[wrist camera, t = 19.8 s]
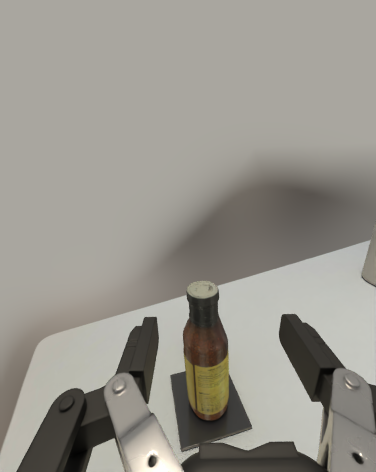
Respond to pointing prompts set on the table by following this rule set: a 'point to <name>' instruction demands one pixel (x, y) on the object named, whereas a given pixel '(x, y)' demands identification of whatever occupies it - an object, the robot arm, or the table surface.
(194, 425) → the slate coaster
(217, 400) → the sauce bottle
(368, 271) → the cylinder vase
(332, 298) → the table surface
